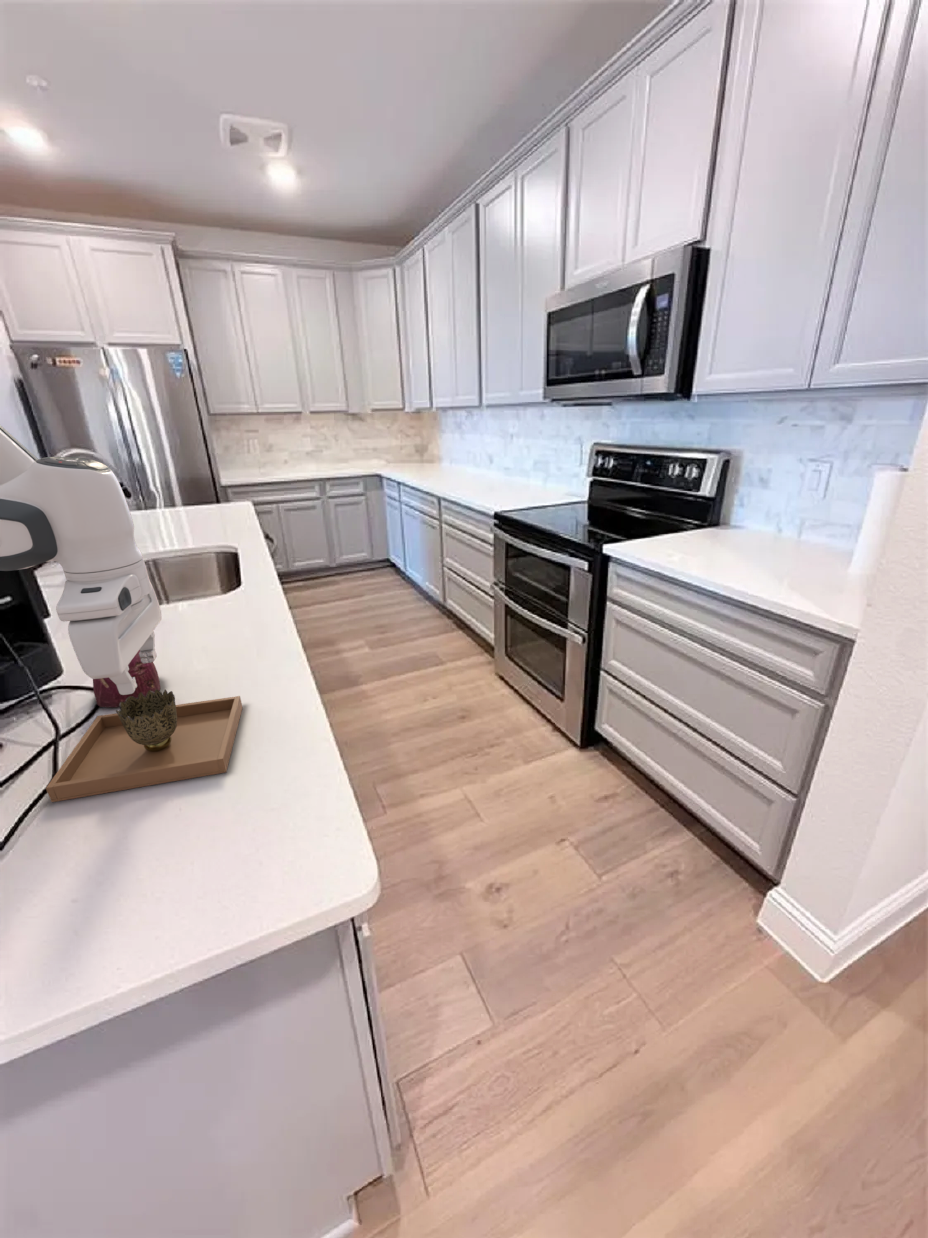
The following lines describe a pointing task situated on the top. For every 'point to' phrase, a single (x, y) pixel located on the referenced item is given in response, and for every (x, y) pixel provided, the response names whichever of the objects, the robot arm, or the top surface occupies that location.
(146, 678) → the vegetable
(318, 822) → the top surface
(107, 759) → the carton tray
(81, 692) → the top surface
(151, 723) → the cup
